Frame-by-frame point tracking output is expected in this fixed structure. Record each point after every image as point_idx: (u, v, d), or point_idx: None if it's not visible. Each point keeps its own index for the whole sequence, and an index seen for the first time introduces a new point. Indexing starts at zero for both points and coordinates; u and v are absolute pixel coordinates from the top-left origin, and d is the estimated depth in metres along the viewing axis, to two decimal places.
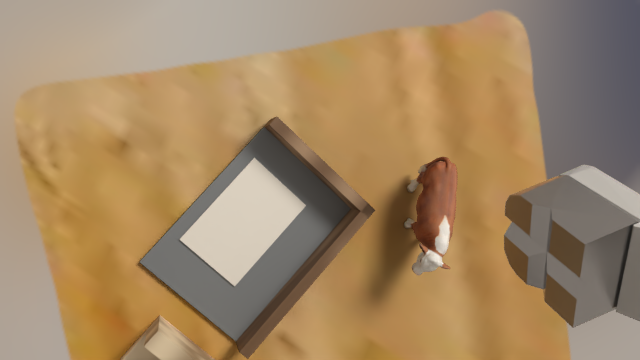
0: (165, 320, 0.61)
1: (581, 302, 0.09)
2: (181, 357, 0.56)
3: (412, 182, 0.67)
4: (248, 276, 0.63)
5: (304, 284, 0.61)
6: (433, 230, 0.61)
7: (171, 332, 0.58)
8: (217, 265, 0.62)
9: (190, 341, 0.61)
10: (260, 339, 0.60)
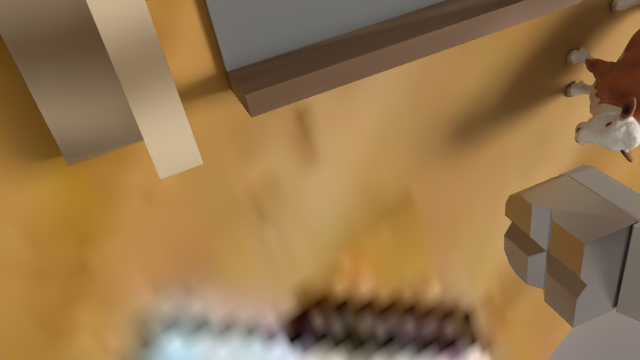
0: None
1: (582, 302, 0.09)
2: (139, 31, 0.22)
3: None
4: None
5: (424, 45, 0.29)
6: None
7: None
8: None
9: None
10: (295, 95, 0.28)
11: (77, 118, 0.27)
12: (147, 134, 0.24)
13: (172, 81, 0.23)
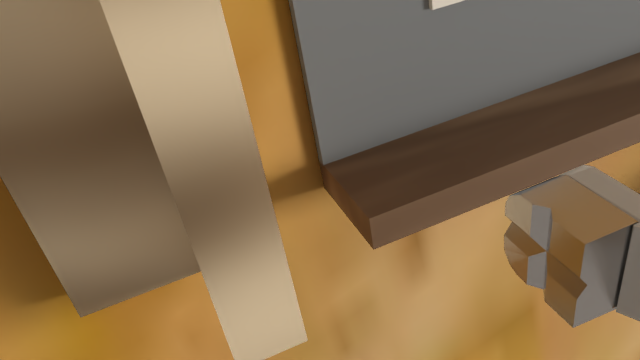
0: None
1: (581, 302, 0.09)
2: (227, 146, 0.12)
3: None
4: (476, 8, 0.19)
5: (626, 132, 0.19)
6: None
7: None
8: None
9: None
10: (440, 214, 0.18)
11: (97, 249, 0.17)
12: (225, 308, 0.14)
13: (275, 224, 0.13)
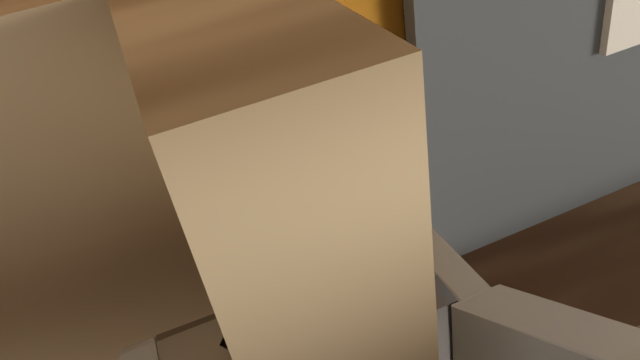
0: None
1: None
2: None
3: None
4: None
5: None
6: None
7: None
8: None
9: None
10: None
11: None
12: None
13: None
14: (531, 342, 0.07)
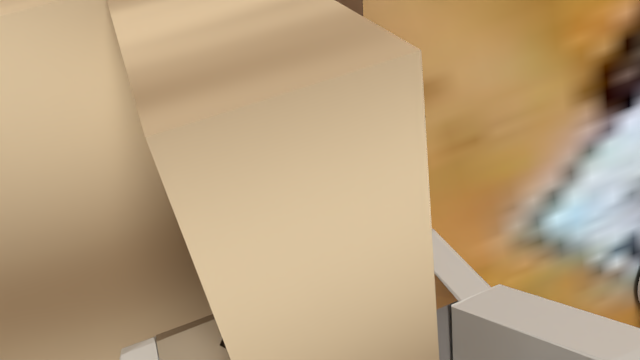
0: None
1: None
2: None
3: None
4: None
5: (347, 5, 0.21)
6: None
7: None
8: None
9: None
10: None
11: None
12: None
13: None
14: (531, 342, 0.07)
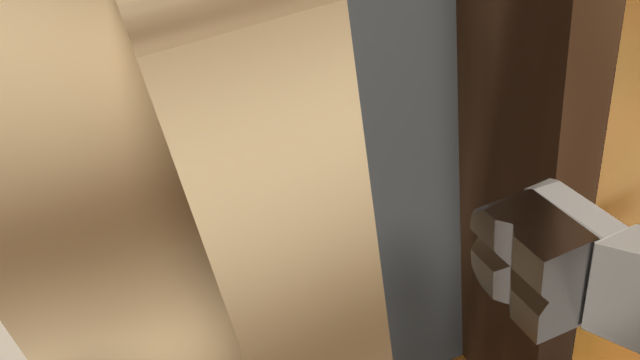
0: None
1: (544, 320, 0.08)
2: (338, 291, 0.07)
3: None
4: None
5: (578, 171, 0.12)
6: None
7: None
8: None
9: None
10: None
11: None
12: None
13: None
14: None
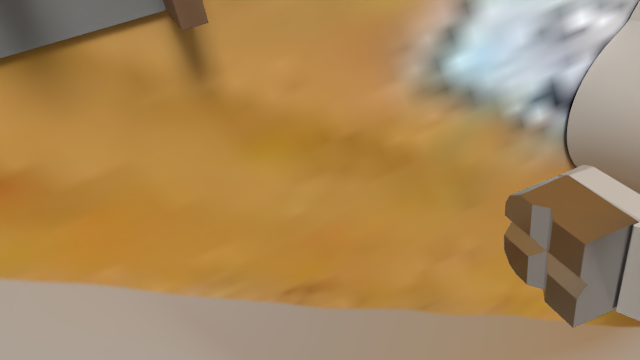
0: None
1: (581, 302, 0.09)
2: None
3: None
4: None
5: None
6: None
7: None
8: None
9: None
10: None
11: None
12: None
13: None
14: None
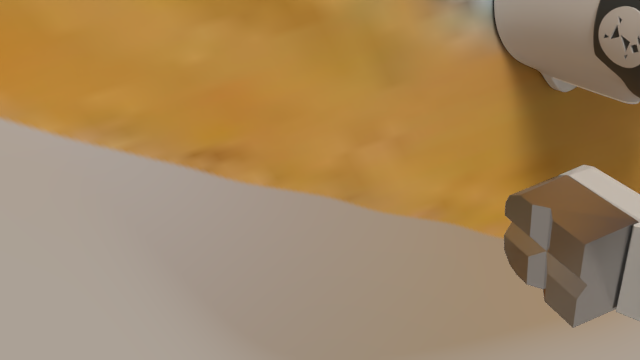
0: None
1: (581, 302, 0.09)
2: None
3: None
4: None
5: None
6: None
7: None
8: None
9: None
10: None
11: None
12: None
13: None
14: None
